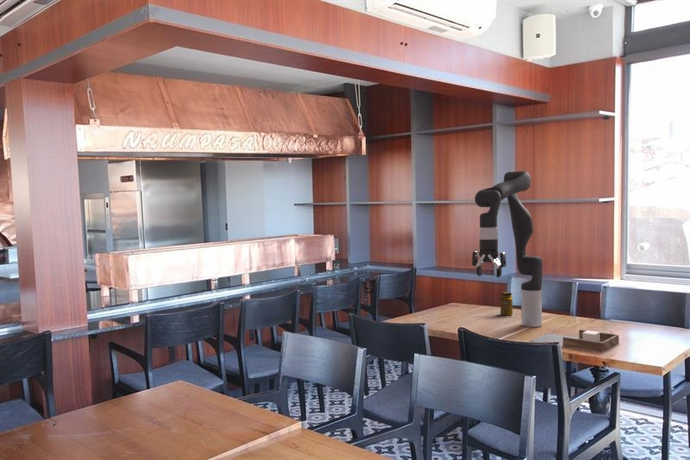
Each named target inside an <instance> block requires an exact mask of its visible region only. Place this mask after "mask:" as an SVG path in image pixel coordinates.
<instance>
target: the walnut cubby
mask: <svg viewBox="0 0 690 460" xmlns="http://www.w3.org/2000/svg"><path fill="white" fill-rule="evenodd" d="M585 331H587V330H585V329H579V330H578V337H579V338H582V339H583V332H585ZM599 332H600V341H603V342H595V341H588V340H581V339H574V338H568V337H563V346H562V347H565V346H567V347H566V348H572V347H573V348H574V349H578V348H580V349H579V350H585V349H586V350H585V351H591V350H593V351H594V352H597V351H599V352H598V353H605V352H607V351H609V350H611V349H612V348H614V347H616V346H618V345H619V344H620V339H619V337H620V335H619V334H614V333H607V332H601V331H599ZM617 344H618V345H617ZM615 345H616V346H615ZM613 346H614V347H613ZM611 347H612V348H611ZM573 348H572V349H573ZM610 348H611V349H610ZM608 349H609V350H608ZM606 350H607V351H606ZM593 351H592V352H593ZM604 351H605V352H604Z"/></svg>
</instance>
